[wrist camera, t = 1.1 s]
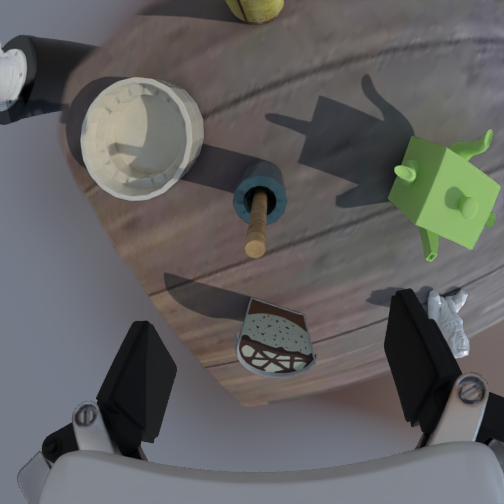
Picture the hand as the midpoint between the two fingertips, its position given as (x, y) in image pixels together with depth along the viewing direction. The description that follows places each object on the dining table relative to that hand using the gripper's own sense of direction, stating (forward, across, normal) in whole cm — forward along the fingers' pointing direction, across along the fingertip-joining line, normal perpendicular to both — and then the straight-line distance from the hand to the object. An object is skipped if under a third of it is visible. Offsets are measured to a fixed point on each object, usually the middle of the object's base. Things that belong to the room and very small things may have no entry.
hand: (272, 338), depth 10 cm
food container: (+27, +4, +24) cm, 36 cm away
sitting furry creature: (+27, -28, +28) cm, 48 cm away
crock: (+27, +1, +1) cm, 27 cm away
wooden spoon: (+26, +1, +1) cm, 26 cm away
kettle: (+27, -21, +3) cm, 34 cm away
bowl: (+27, +14, -8) cm, 31 cm away
